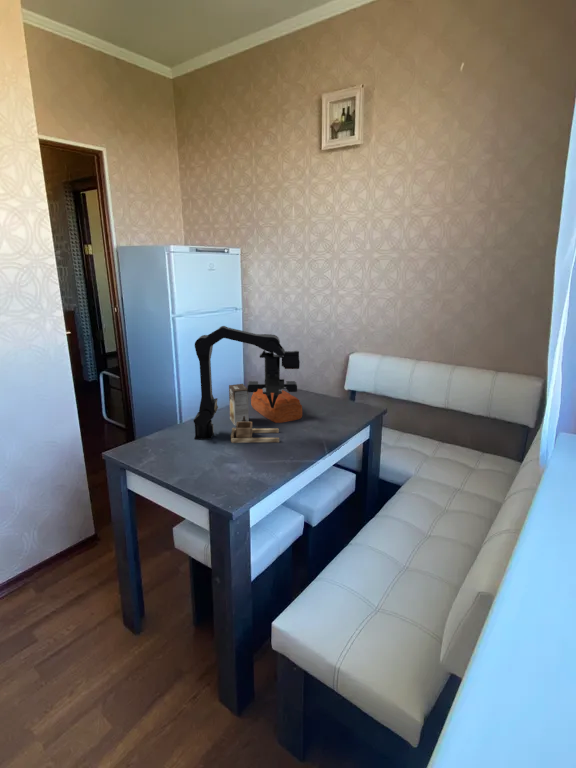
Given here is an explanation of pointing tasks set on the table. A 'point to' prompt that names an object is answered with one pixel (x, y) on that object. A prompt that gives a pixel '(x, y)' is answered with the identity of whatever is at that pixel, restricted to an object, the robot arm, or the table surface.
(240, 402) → the coffee box
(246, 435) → the crate
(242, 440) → the beige cubby shelf
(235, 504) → the table surface
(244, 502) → the table surface
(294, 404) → the bread
